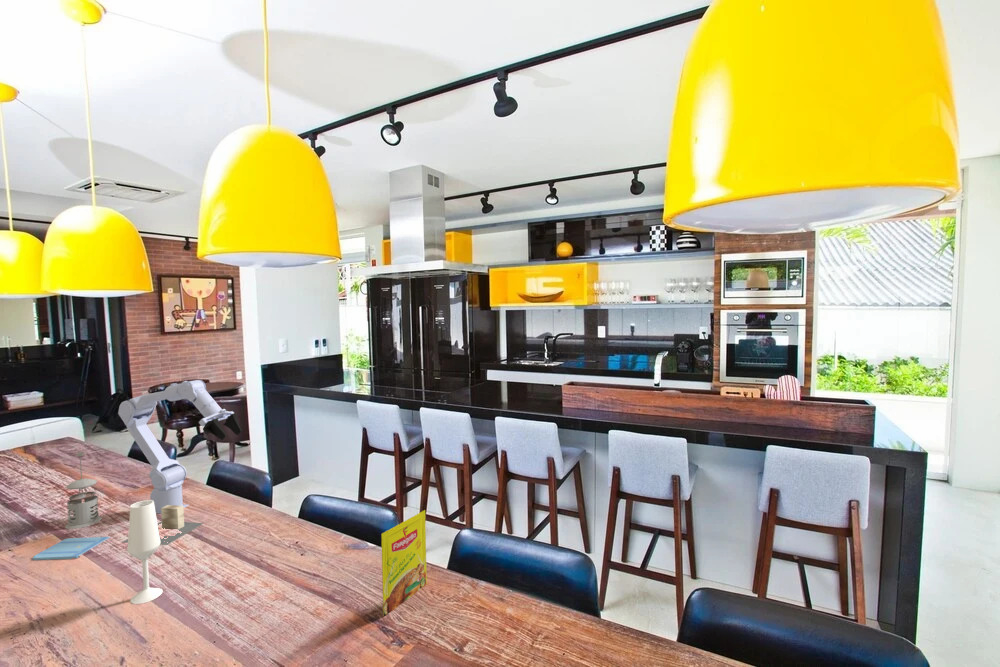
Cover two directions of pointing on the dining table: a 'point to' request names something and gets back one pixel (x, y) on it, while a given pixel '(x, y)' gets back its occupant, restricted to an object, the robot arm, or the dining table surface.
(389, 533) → the food package
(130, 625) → the dining table surface
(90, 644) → the dining table surface
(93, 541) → the folded blue cloth
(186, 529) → the mat
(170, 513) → the beige and teal block
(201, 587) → the dining table surface
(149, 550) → the champagne flute
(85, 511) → the french press
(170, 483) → the robot arm
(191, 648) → the dining table surface
